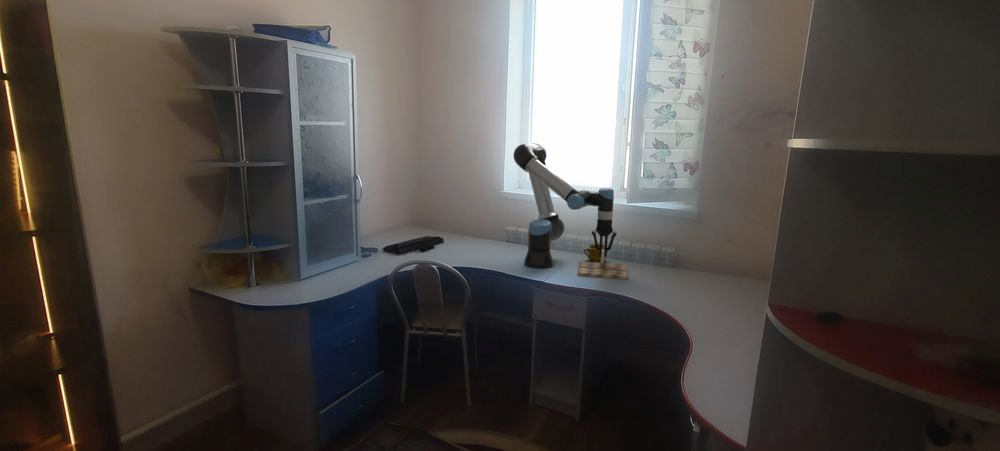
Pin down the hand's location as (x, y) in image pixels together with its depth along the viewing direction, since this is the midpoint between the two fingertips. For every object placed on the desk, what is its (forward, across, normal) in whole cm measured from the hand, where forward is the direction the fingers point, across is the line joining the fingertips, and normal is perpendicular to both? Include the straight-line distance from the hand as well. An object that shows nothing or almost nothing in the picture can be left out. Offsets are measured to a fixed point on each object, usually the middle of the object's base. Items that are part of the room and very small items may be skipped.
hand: (602, 262), depth 250 cm
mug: (+4, -4, +13) cm, 14 cm away
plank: (+2, 0, -3) cm, 4 cm away
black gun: (+3, -107, +15) cm, 108 cm away
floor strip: (+3, 0, -12) cm, 13 cm away
